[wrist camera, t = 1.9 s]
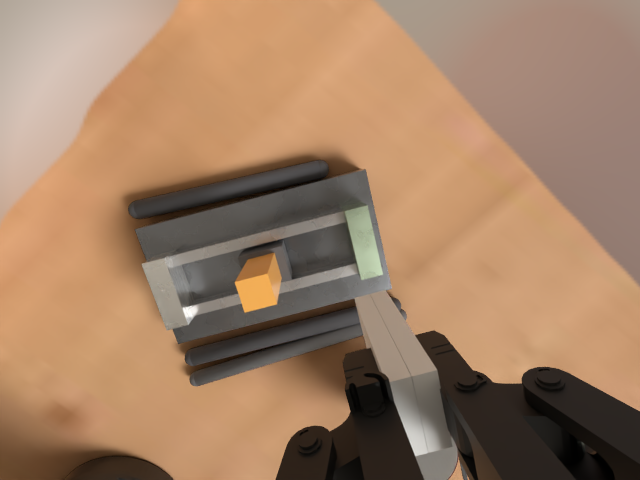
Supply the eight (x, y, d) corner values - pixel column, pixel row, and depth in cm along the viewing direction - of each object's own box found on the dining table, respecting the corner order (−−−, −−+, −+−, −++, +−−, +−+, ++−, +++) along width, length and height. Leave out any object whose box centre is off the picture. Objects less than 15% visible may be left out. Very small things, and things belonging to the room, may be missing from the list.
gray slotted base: (187, 329, 38) (166, 360, 32) (148, 224, 35) (118, 235, 29) (385, 279, 38) (400, 300, 32) (360, 168, 35) (371, 169, 29)
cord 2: (195, 382, 39) (190, 391, 38) (190, 370, 39) (185, 378, 37) (405, 317, 39) (410, 323, 37) (402, 304, 38) (406, 310, 37)
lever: (252, 282, 34) (235, 320, 25) (242, 250, 33) (222, 279, 25) (292, 271, 34) (288, 306, 25) (283, 240, 33) (277, 265, 25)
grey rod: (190, 361, 39) (185, 371, 37) (185, 347, 38) (179, 356, 37) (399, 308, 38) (404, 314, 37) (396, 293, 38) (401, 299, 36)
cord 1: (137, 219, 35) (128, 222, 33) (131, 201, 35) (122, 203, 33) (329, 176, 35) (331, 176, 33) (326, 158, 35) (327, 158, 33)
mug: (364, 332, 39) (384, 389, 29) (433, 342, 40) (476, 400, 30) (347, 414, 41) (360, 493, 31) (413, 422, 42) (447, 501, 32)
